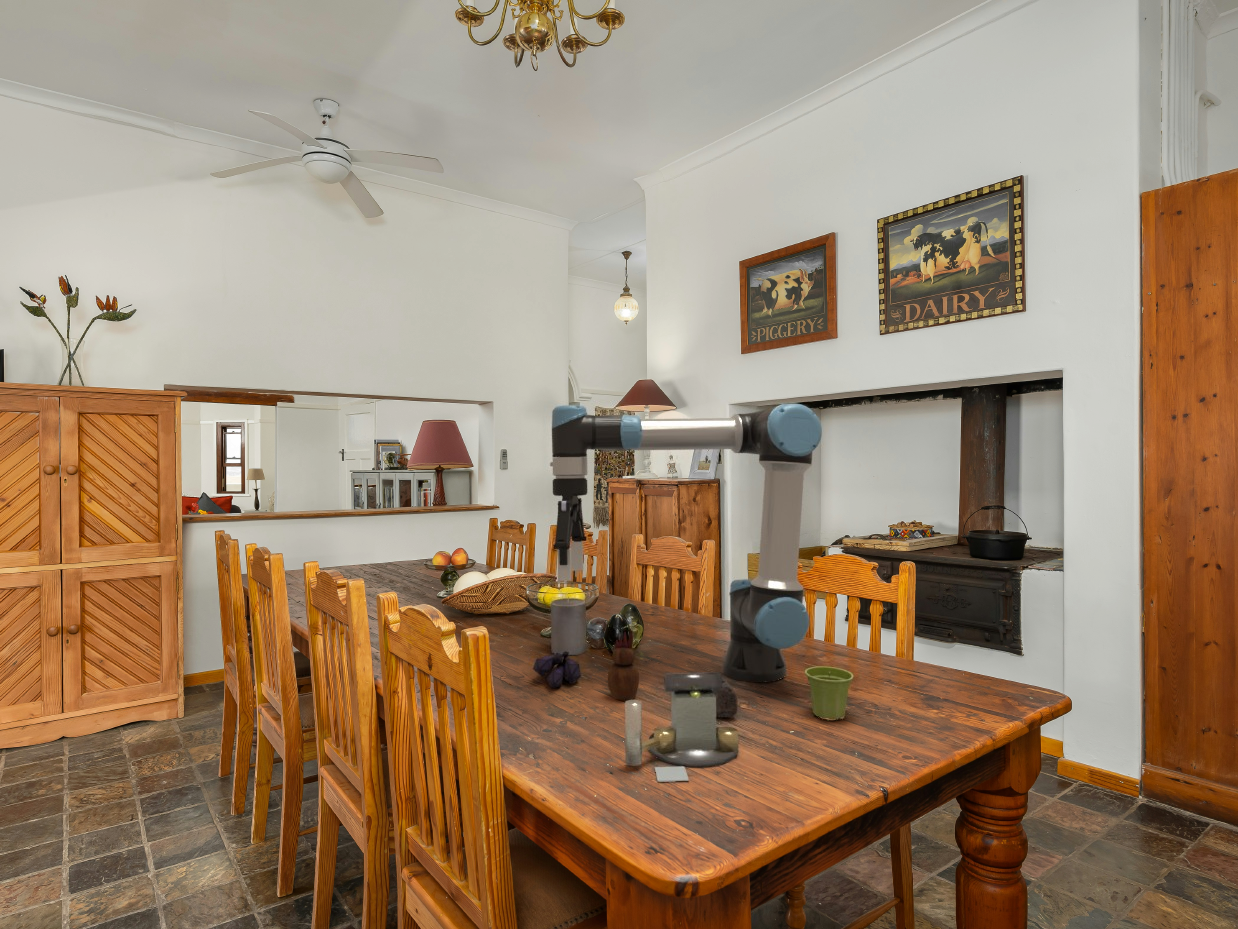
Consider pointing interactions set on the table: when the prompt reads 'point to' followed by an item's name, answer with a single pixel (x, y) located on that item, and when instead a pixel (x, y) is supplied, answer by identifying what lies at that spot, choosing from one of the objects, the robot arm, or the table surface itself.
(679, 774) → the pad
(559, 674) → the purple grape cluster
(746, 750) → the table surface
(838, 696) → the plant pot
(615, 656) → the wooden figurine
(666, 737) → the lever
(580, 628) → the pillar candle
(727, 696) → the perforated stone tool
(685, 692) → the tribrach
